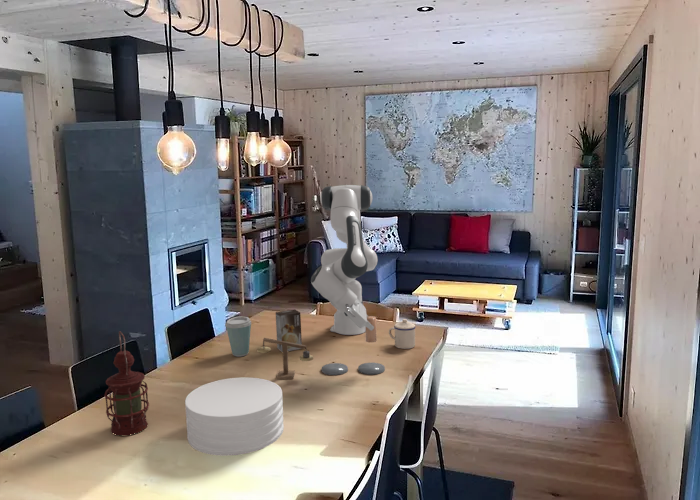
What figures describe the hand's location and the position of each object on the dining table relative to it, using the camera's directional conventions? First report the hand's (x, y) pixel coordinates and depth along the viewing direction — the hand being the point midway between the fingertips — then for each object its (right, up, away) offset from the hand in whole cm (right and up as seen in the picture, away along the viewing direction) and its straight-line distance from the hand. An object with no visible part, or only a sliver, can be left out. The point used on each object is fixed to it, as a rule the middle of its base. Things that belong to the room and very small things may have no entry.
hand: (372, 326), depth 214 cm
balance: (-32, -18, -2) cm, 37 cm away
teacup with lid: (+14, -12, +30) cm, 36 cm away
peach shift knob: (-1, -5, +1) cm, 5 cm away
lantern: (-75, -25, -41) cm, 90 cm away
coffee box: (-34, -13, +29) cm, 47 cm away
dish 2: (0, -17, +3) cm, 17 cm away
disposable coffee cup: (-54, -15, +23) cm, 61 cm away
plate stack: (-42, -25, -44) cm, 66 cm away
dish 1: (-14, -17, +3) cm, 22 cm away
